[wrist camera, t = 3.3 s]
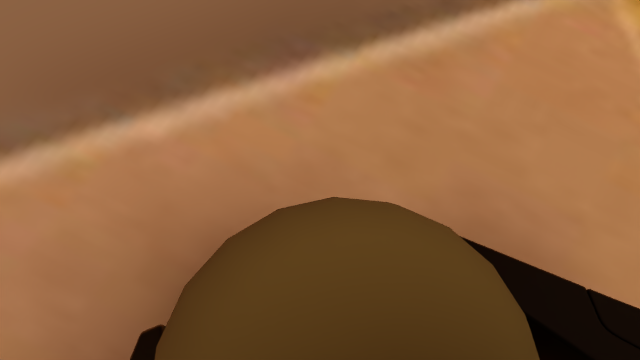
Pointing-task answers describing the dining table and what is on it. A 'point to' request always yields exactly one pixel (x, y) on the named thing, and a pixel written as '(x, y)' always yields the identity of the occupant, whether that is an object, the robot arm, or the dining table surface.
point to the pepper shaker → (346, 292)
